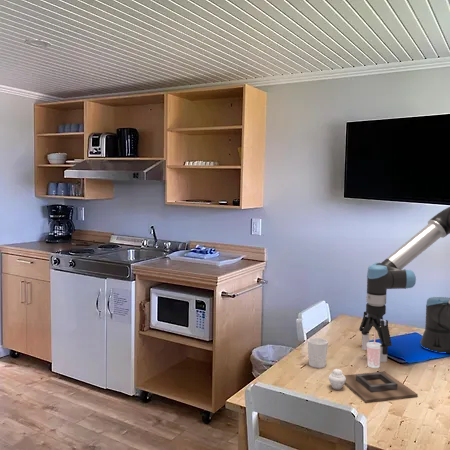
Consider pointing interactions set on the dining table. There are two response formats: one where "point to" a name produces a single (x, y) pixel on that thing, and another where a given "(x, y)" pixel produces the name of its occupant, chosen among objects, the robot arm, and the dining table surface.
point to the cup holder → (377, 387)
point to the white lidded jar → (337, 379)
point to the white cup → (317, 352)
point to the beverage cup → (373, 354)
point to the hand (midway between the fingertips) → (373, 355)
